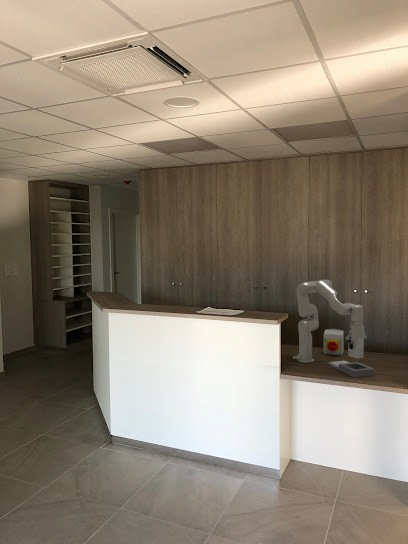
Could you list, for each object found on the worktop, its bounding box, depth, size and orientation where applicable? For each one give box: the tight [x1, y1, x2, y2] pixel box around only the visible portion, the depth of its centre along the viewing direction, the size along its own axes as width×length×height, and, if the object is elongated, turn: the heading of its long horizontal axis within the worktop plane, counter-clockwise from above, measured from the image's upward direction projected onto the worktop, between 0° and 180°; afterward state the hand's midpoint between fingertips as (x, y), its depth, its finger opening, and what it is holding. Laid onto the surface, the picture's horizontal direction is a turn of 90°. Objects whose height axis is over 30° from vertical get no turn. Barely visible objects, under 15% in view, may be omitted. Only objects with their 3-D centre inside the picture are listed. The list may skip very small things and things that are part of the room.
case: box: [325, 360, 376, 379], centre depth 319 cm, size 16×34×4 cm, turn 16°
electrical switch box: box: [323, 328, 345, 356], centre depth 360 cm, size 14×15×20 cm
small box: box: [347, 339, 365, 360], centre depth 311 cm, size 8×6×13 cm
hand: (355, 348), depth 311 cm, fingers closed on small box, 7 cm apart
